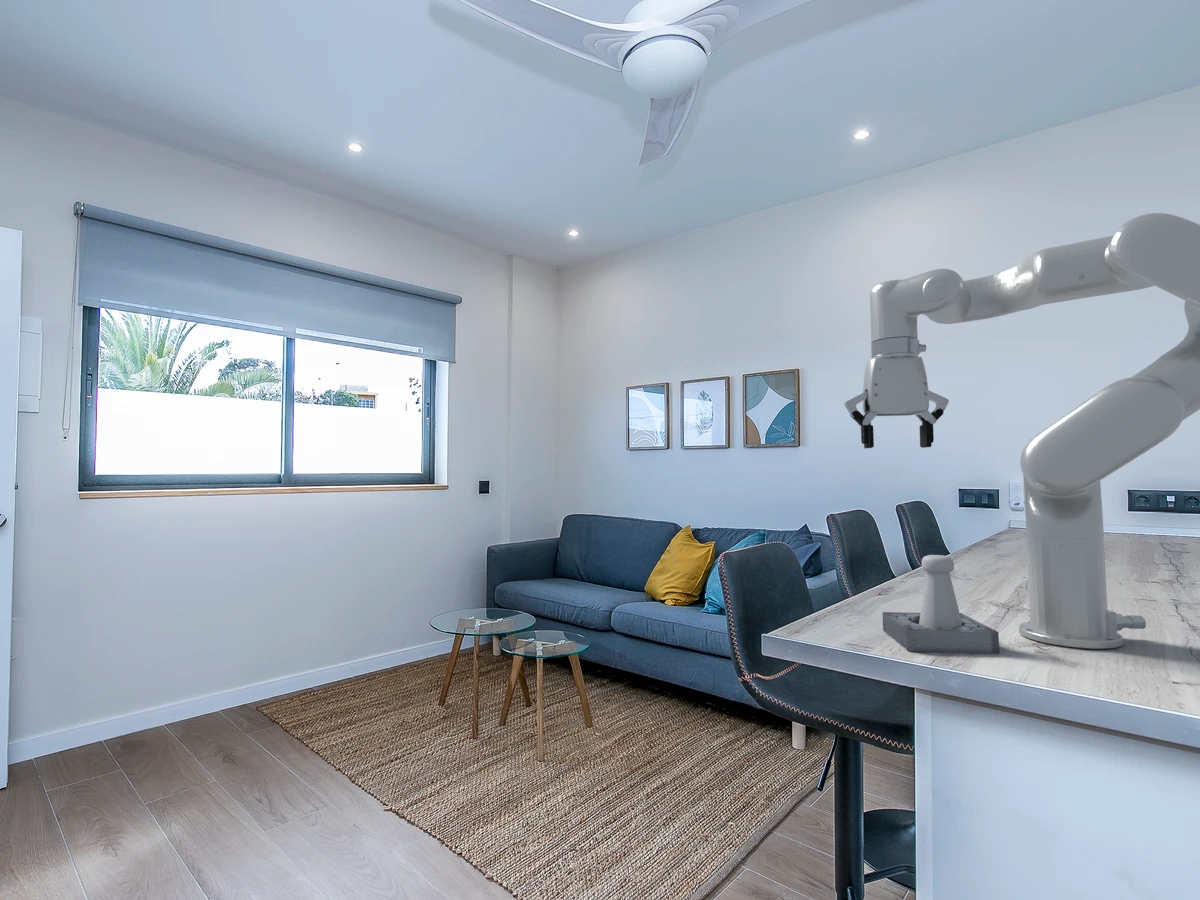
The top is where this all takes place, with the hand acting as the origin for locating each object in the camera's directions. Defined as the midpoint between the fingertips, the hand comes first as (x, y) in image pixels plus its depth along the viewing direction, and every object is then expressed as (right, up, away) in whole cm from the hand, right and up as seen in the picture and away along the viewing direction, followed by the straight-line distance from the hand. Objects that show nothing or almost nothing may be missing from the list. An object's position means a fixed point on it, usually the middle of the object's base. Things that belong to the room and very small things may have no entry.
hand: (897, 447), depth 108 cm
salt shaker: (-1, -30, -15) cm, 33 cm away
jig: (-1, -30, -15) cm, 33 cm away
